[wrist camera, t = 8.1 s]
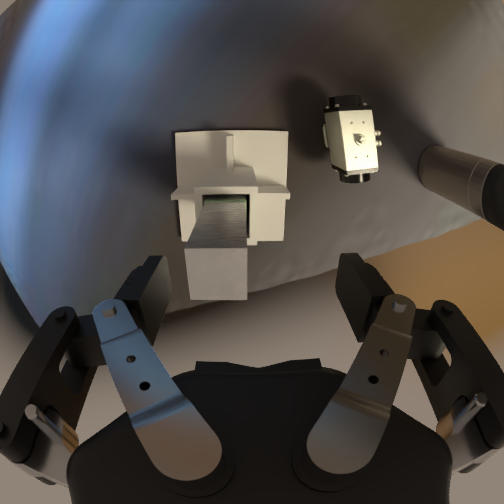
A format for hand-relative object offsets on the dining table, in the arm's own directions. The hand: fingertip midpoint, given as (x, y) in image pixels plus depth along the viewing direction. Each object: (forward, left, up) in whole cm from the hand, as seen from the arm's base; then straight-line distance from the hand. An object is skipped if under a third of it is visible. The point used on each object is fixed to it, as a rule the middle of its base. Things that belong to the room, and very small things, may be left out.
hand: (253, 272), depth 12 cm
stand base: (+2, +3, -32) cm, 33 cm away
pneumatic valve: (-14, -6, -33) cm, 36 cm away
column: (+2, +3, -24) cm, 25 cm away
